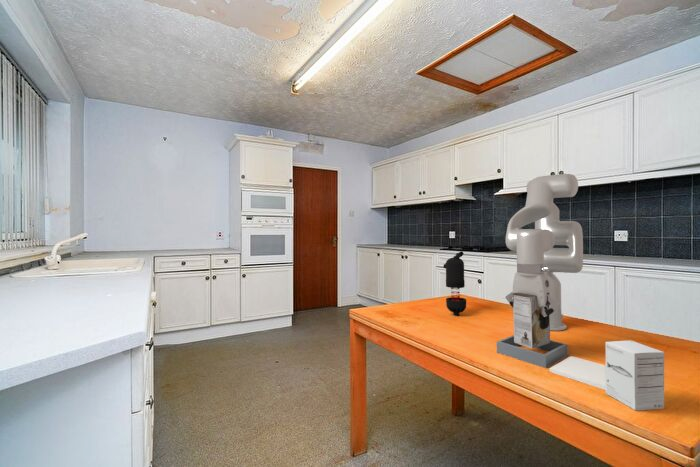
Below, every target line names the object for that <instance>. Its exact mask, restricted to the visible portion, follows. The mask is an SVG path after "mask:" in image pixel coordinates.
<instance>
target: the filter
mask: <svg viewBox="0 0 700 467" xmlns="http://www.w3.org/2000/svg"><path fill="white" fill-rule="evenodd" d="M463 255H464V252H463V251H461V250H460V251H459V252H457V253H455V255H454V256H453V257H450V258H448V259H447V260H446V262H445V263H444V264H443V268H444V269H445V287H446V288H450V289H451V290H455V289H457V290H460V289H462V288H465V287H466V286H465V262H464V261H463V259H461V258H462V256H463ZM451 294H454V291H451ZM455 294H456V296H454V295H451V297H447V298H445V304H446V305H445V306H446V309H447V310H448V311H450V312H452V313H453V316H455V317H459V316H460V313H462V312H464V311H465V310H466V309H467V299H466V298H464V297H460V295H458V294H460V291H457V292H455Z"/></svg>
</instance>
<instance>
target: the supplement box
mask: <svg viewBox="0 0 700 467" xmlns="http://www.w3.org/2000/svg"><path fill="white" fill-rule="evenodd" d="M605 365H606V390H605V394H606V395H607V396H610V397H612V398H613V399H615V400H616V401H618V402H620V403H622V404H623V405H626V406H627V407H629V408H630V409H632V410H634V411H648V410H650V411H651V410H662V409H665V351H662V350H660V349H657V348H653V347H651V346H648V345H646V344H643V343H640V342H636V341H634V340H615V341H614V340H613V341H605Z"/></svg>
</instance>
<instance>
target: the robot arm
mask: <svg viewBox="0 0 700 467" xmlns="http://www.w3.org/2000/svg"><path fill="white" fill-rule="evenodd" d="M578 191H579V181H578V178H577V177H576V175H574V174H572V173H558V174H551V175H550V174H549V175H542V176H541V175H540V176H537V177H534V178H532V179H531V180H529V181H528V182H527V184H526V192H527V194H526V199H525V200H526V201H525V205H524V207H522V208H521V209H519V210H518V211H517V212H516V213H514V215H512V217H511V218H510V219H509V221H508V222H507V223H508V224H507V228H506V234H505V245H506V248H508V250H510V251H514V252H516V272H515V273H514V277H513V282H512V291H511V292H510V293H509V294H507V295H506V296H505V300H506V301H507V302H508V303H509V305H510V306H511V308H513V293H524V294H529V295H536V296H537V303H538V307H539V309H540V311H541V313H542V316H541V317H540V320H541V329H546V328H548V326H549V318H550V331H552V332H554V331H557V332H558V331H565V330H566V329H567V325H566V324H565V323H563V322H562V321H563V320H562V319H564V314H563V313H562V284H561V281H560V280H559V279H558V276H556V275H555V274H554V273H563V274H564V273H565V274H566V273H567V274H576V273H577V274H578V273H579V272H581V271H582V270H583V267H584V235H583V227H582V226H581V224H580V223H579V222H578V221H574V220H560V209H559V207H558V206H557V205H556V204H555V203H554V199H558V198H559V199H560V198H561V199H562V198H573V197H575V196H576V194H577V192H578ZM532 223H534V228H523V227H525V226H527V225H529V224H532ZM554 246H566V248H565V247H554ZM567 247H568V248H567ZM546 304H547V305H549V309H548V307H547V305H546Z"/></svg>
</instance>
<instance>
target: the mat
mask: <svg viewBox="0 0 700 467" xmlns="http://www.w3.org/2000/svg"><path fill="white" fill-rule="evenodd" d="M549 373H552V374H555V375H558V376H561V377H564V378H568V379H570V380H573V381H576V382H580V383H582V384H586V385H589V386H592V387H595V388H598V389H601V390H605V391H606V364H602V363H598V362H594V361H591V360H588V359H587V360H586V359H584V358H579V357H576V356H572V355H571V356H567V358H564V359H563V360H560V362H558V363H555V364H553V365H552V366H550V368H549Z"/></svg>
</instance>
